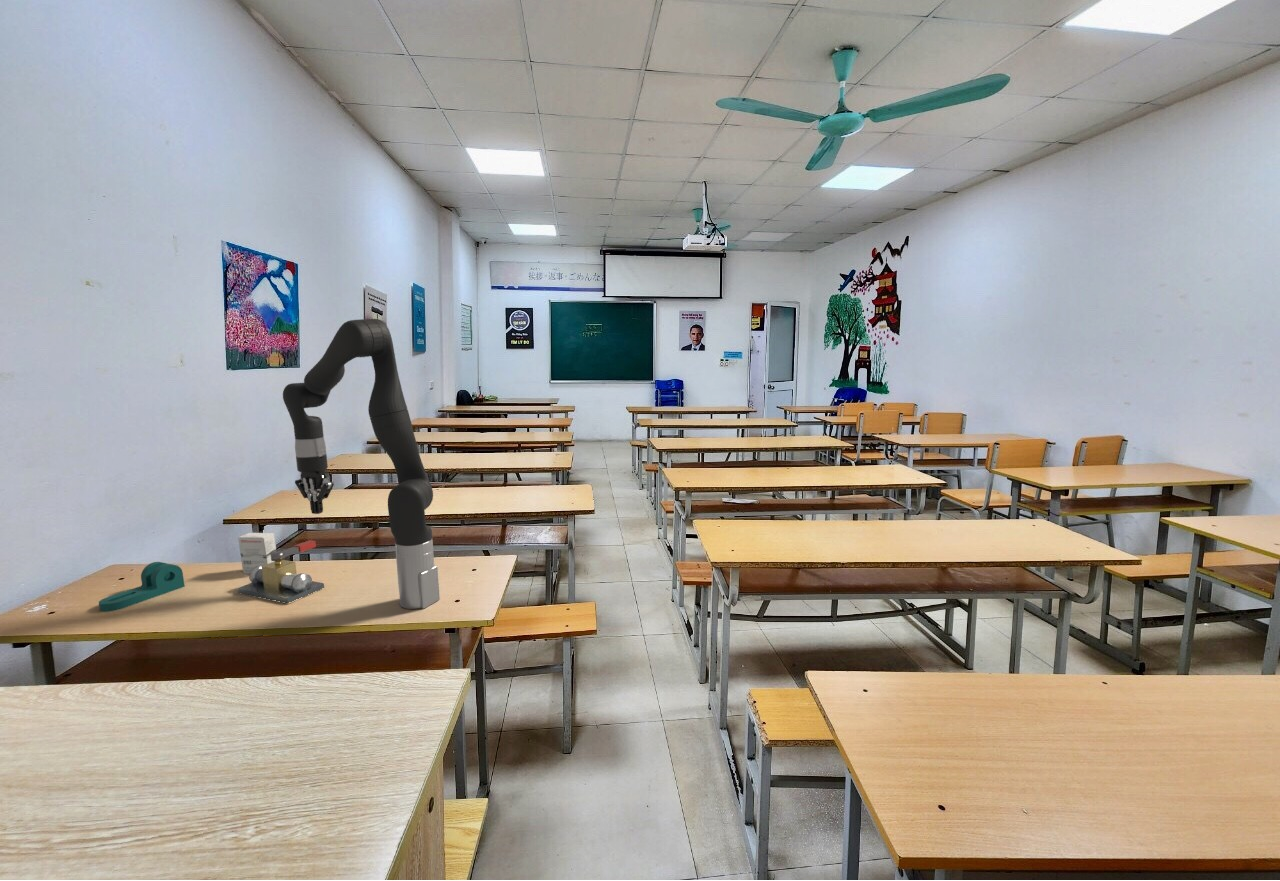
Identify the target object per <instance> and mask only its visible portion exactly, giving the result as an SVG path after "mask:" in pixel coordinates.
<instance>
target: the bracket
mask: <svg viewBox="0 0 1280 881" xmlns="http://www.w3.org/2000/svg"><path fill="white" fill-rule="evenodd" d="M140 580H141V585H140V586H137V587H133V588H130V589H128V590H125V591H122V592H118V593H116V594H112V595H110V596H107V597H104V598H102V599H100V600H99V601H98V608H99V611H100V612H103V613H105V612H106V613H107V612H115V611H118V610H123V609H125V608H129V607H131V606H134V605H137V604H140V603H143V602H145V601H148V600H151V599H154V598H156V597H159V596H163V595H166V594H167V593H168V594H169V593H171V592H173V591H174V592H175V591H176V590H180V589H182V588H184V587H186V584H185V578H184V572H183V570H182V568H181V567H180V566H179V565H177V564H173V563H172V564H171V563H166V562H162V561H153V562H151V563H148V564H147V565H146V566H145V567H144V568H143V569H142V571H141V574H140Z"/></svg>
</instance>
